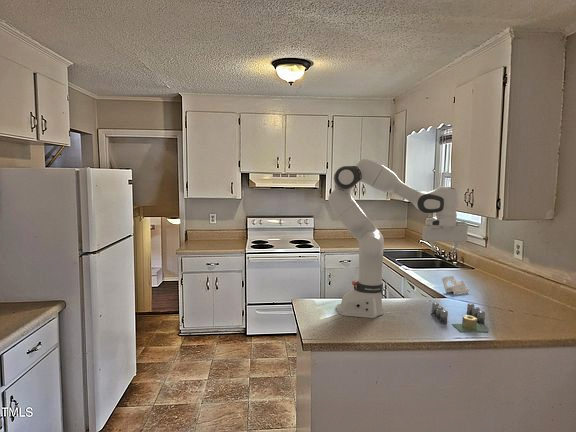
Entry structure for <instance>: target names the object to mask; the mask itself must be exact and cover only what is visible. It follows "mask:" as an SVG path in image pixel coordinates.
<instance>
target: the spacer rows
mask: <svg viewBox="0 0 576 432" xmlns="http://www.w3.org/2000/svg"><path fill="white" fill-rule="evenodd" d="M466 307H467V308H466V315H469V316H474V317H475V318H477V324H479V325H483V324H485V319H486V318H485V317H486V312H485V311H483V310H480V308H479V307H477V306H475V304H474V303H469V302H468V303H467V305H466ZM448 313H449V312H448V310H445V309H444V307H443V306H441V305H440V304H439V303H438V302H432V303H431V315H434V316H435V318H436V319H439V323H441V324H447V323H448Z"/></svg>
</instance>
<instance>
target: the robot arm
mask: <svg viewBox="0 0 576 432" xmlns="http://www.w3.org/2000/svg"><path fill="white" fill-rule="evenodd" d="M333 182H334V183H333V185H334V190H332V191H331V192H330V194H329V196H328V198H327V199H328V200H327V201H328V203H329V205H330V207H331V209H332V211H333V212H334V214H335V215H336V216H337V218H338V219H339V221H340V222H341V223H342V224H343V226H344V227H345V228H346V230H347V231H349V233H350V234H351V235H352V236H353V237H354V238H355V239H356V240H357V242H358V280H357V281H356V280H352V281H351V285H352V286H353V288H352V289H351V290H350V291H349V292H346V293H345V294H344V295H342V298H341V302H340V303H338V304H337V305H336V307H335V308H336V312H337V314H339V315H341V316H343V317H344V316H345V317H358V318H366V319H368V318H369V319H375V318H377V317H378V316H381V315H383V314H385V313H384V308H383V307H384V306H383V300H382V299H383V298H382V295H383V292H384V290H383V289H384V286H383V268H384V267H383V266H384V265H383V264H384V248H385V246H384V245H385V242H384V241H385V240H384V238H385V237H384V235H383V234H382V233H381V231H380V230H379V229H378V228H377V226H376V225H375V224H374V223H373V222H372V220H370V218H369V217H368V216H367V215H366V213H365V212H364V210H363V209H362V208H361V207H360V206H359V204H358V203H357V202H356V201H355V199H354V198H353V196H352V195H351V191H352V189H353V188H354V187H356V185H357V184H358V183H363V184H367V185H368V186H369V187H371V188H373V189H376V190H378V191H380V192H384V193H392V194H395V195H397V196H399V197H401V198H403V199H404V200H406V201H408V202H409V203H411V204H412V205H413V207H414V208H415V209H416V211H418V212H420V213H423V214H426V215H430V214H434V213H435V216H434V217H430V218H426V219H425V220H424V223H425V224H424V226H423V228H422V233H421V238H422V240H423V241H425V242H429V245H430V248H431V251H432V252H433V251H434V252H435V251H437V246H435V245H434V244H435V242H447V243H448V242H453V243H454V245H453V246H451V249H450V250H451V251H452V252H456V251H457V248H458V246H459V245H460V243H466V242H467V241H468V228H469V225H468V223H467V222H465V221H457V208H458V204H459V203H458V202H459V201H458V199H459V195H458V190H457V189H456V188H453V187H450V186H445V185H440V186H439V187H437V188H435V189H433V190H431V191H425V190H424V191H423V190H422V191H421V190H418V189H415V188H413V187H411V186H409V185H407V184H406V183H404V182H403V181H401V180H400V178H399V177H398V176H397V175H396V173H395V172H393V171H392V170H391V169H389V168H388V167H386V166H385V165H383V164H380V163H378V162H376V161H373V160H371V159H366V158H362V159H361V160H359V161H358V162H357V164H355V165H345V166H341V167H339V168H338V169H337V170H336V171H335V172H334V174H333Z"/></svg>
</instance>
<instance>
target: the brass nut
mask: <svg viewBox="0 0 576 432" xmlns="http://www.w3.org/2000/svg"><path fill="white" fill-rule="evenodd" d="M461 324H462V327H464V328H465V329H469V330H475V329H477V324H478V323H477V318H475V317H474V316H470V315H467V314H465V315H462V321H461Z"/></svg>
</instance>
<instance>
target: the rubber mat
mask: <svg viewBox="0 0 576 432" xmlns="http://www.w3.org/2000/svg"><path fill="white" fill-rule="evenodd" d="M451 326H453V327H454V328H455V329H456V330H457V331H458V332H459V333H489V332H488V330H487V329H486V328H484V327H483V326H482V325H481V324H480V323H477V329H475V330H469V329H465V328H464V327H462V323H451Z"/></svg>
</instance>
